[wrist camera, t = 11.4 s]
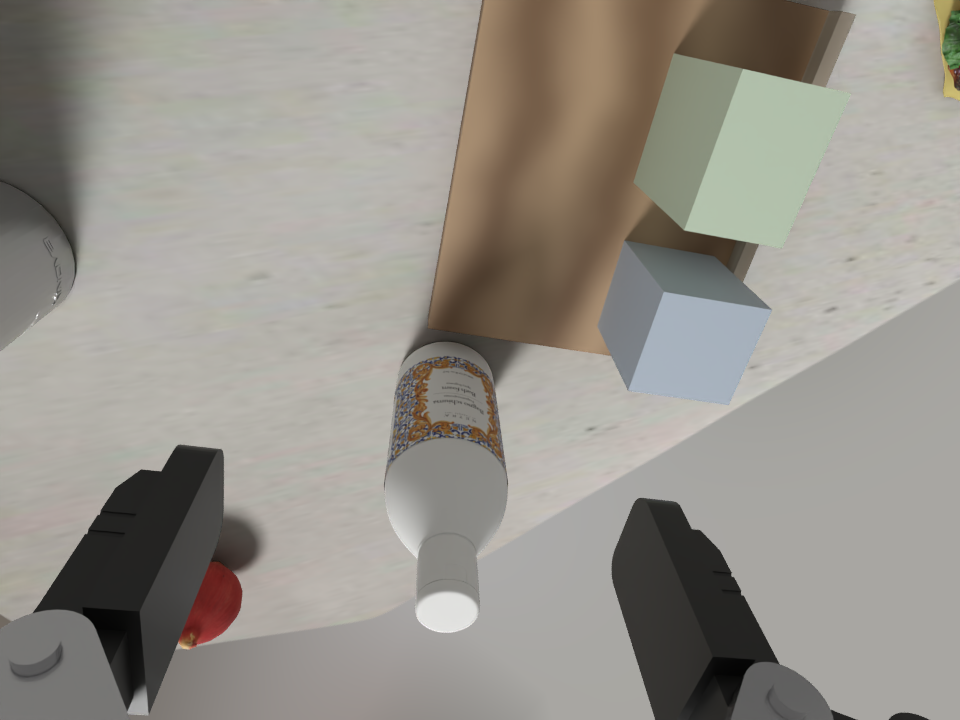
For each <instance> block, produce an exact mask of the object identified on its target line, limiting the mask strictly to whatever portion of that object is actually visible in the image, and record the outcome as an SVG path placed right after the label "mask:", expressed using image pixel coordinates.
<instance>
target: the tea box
mask: <svg viewBox="0 0 960 720" xmlns="http://www.w3.org/2000/svg"><path fill="white" fill-rule="evenodd" d="M850 95H851V93H847V92H842V91H838V90H834V89H829V88H825V87H821V86H816V85H812V84H807V83H803V82H799V81H794V80H790V79H785V78H781V77H777V76H772V75H768V74H763V73H759V72H755V71H750V70H746V69H742V68H737V67H733V66H728V65H724V64H719V63H715V62H710V61H706V60H701V59H697V58H692V57H688V56H683V55H679V54H673V57H672V60H671V64H670V67H669V70H668V73H667V76H666V80H665V83H664V86H663V89H662V92H661V96H660V99H659V102H658V105H657V108H656V112H655V115H654V118H653V121H652V124H651V128H650V131H649V134H648V137H647V140H646V144H645V147H644V150H643V153H642V156H641V160H640V163H639V166H638V169H637V172H636V176H635V179H634V182H633V183H634V184H635V185H637V186H638V187H639V188H640V189H641V190H642V191H643V192H644V193H645V194H646V195H647V196H648V197H649V198H650V199H651V200H652V201H654V202H655V203H656V204H657V205H658V206H659V207H660V208H661V209H662V210H663V211H664V212H665V213H666V214H667V215H668V216H669V217H671V218H672V219H673V220H674V221H675V222H676V223H677V224H678V225H679V226H680V227H681V228H682V229H683V230H685V231H690V232H696V233H701V234H706V235H712V236H717V237H723V238H728V239H733V240H739V241H744V242H750V243H755V244H760V245H766V246H771V247H776V248H782V247H783V245H784V243H785V241H786V238H787V236H788V234H789V232H790V229H791V227H792V225H793V223H794V220H795V218H796V216H797V214H798V211H799V209H800V207H801V205H802V203H803V200H804V198H805V196H806V194H807V191H808V189H809V187H810V185H811V182H812V180H813V178H814V176H815V173H816V171H817V169H818V167H819V164H820V162H821V160H822V158H823V156H824V153H825V151H826V149H827V147H828V144H829V142H830V140H831V138H832V135H833V133H834V131H835V129H836V126H837V124H838V122H839V120H840V117H841V115H842V113H843V111H844V109H845V106H846V104H847V102H848V100H849V97H850Z"/></svg>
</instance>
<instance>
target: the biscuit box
mask: <svg viewBox="0 0 960 720" xmlns="http://www.w3.org/2000/svg"><path fill="white" fill-rule="evenodd" d="M771 311H772V309H771V308H770V307H768V306H767V305H766V304H765V303H764V302H763V301H762V300H761V299H760V298H759V297H758V296H757V295H756V294H754V293H753V292H752V291H751V290H750V289H749V288H748V287H747V286H746V285H745V284H744V283H743V282H742V281H741V280H739V279H738V278H737V277H736V276H735V275H734V274H733V273H732V272H731V271H730V270H729V269H728V268H727V267H725V266H724V265H723V264H722V263H721V262H720V261H719V260H718V259H717V258H716V257H715V256H710V255H704V254H699V253H693V252H687V251H682V250H676V249H671V248H665V247H659V246H654V245H648V244H642V243H637V242H631V241H625V240H624V243H623V246H622V249H621V252H620V256H619V259H618V262H617V265H616V268H615V271H614V275H613V278H612V281H611V284H610V287H609V290H608V294H607V297H606V300H605V303H604V306H603V309H602V313H601V316H600V319H599V322H598V325H597V327H598V329H599V331H600V333H601V335H602V337H603V339H604V342H605V344H606V346H607V348H608V350H609V352H610V354H611V356H612V358H613V360H614V362H615V364H616V367H617V369H618V371H619V373H620V375H621V377H622V379H623V381H624V383H625V385H626V387H627V389H628V391H633V392H640V393H647V394H654V395H661V396H668V397H676V398H683V399H690V400H697V401H704V402H711V403H718V404H725V405H729V403H730V401H731V399H732V397H733V394H734V392H735V390H736V388H737V386H738V383H739V381H740V379H741V377H742V375H743V373H744V370H745V368H746V366H747V364H748V362H749V359H750V357H751V355H752V353H753V351H754V348H755V346H756V344H757V342H758V340H759V338H760V335H761V333H762V331H763V329H764V327H765V324H766V322H767V320H768V318H769V316H770V314H771Z"/></svg>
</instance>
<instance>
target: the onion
mask: <svg viewBox="0 0 960 720" xmlns="http://www.w3.org/2000/svg"><path fill="white" fill-rule="evenodd" d="M241 601H242V588H241V585H240V582H239V580H238V578H237V576H236V575H235V574H234V573H233V572H232V571H231V570H229V569H228V568H227V567H225V566H224V565H223V564H222V563H220V562H217V561H216V562H210V564H209V566H208V569H207V571H206V574H205V576H204V579H203V581H202V584H201V586H200V589H199V591H198V594H197V596H196V599H195V601H194V604H193V606H192V609H191V611H190V614H189V616H188V619H187V621H186V624H185V626H184V629H183V631H182V634H181V636H180V639H179V641H178V642H179V644H180V645H181V647H182V648H183V649H191V648H193V647H196V645H197V644H201V643H205V642H208V641H210V640H212V639H214V638H215V637H217V636H219V635H220V634H222V633H223V632H224V631H225V630H226V629H227V628H228V627H229V626H230V624H231V623H232V622H233V621H234V620H235V618H236V617H237V615H238V613H239V611H240V608H241Z"/></svg>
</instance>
